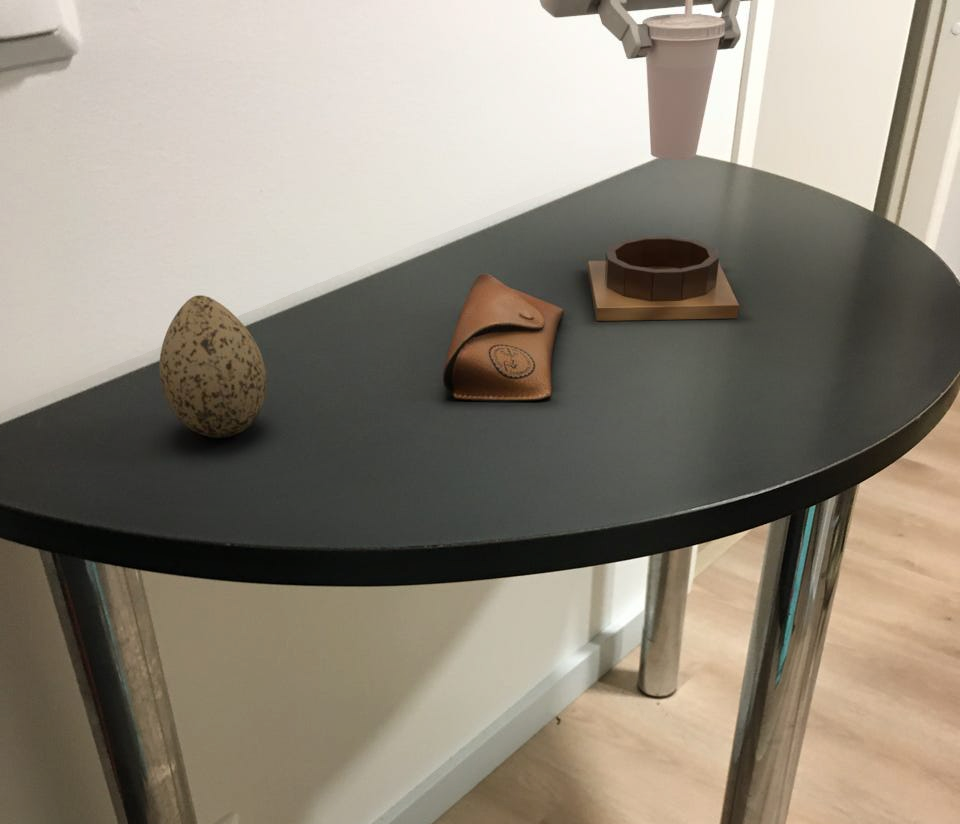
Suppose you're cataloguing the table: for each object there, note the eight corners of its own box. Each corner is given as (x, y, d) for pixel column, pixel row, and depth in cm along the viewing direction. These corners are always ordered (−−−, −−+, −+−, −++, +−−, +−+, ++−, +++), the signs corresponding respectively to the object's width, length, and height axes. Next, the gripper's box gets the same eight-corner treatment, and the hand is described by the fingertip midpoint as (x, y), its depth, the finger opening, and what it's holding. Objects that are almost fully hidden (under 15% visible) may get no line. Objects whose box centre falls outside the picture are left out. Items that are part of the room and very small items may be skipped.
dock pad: (715, 270, 104) (720, 230, 101) (737, 318, 94) (742, 275, 92) (587, 273, 104) (589, 233, 102) (596, 321, 94) (597, 278, 92)
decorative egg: (230, 465, 75) (204, 323, 69) (152, 443, 78) (120, 305, 72) (294, 423, 80) (275, 287, 74) (217, 404, 83) (193, 272, 77)
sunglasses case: (557, 396, 82) (511, 320, 78) (477, 438, 84) (429, 366, 81) (566, 307, 96) (526, 240, 93) (497, 346, 99) (457, 282, 95)
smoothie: (728, 151, 91) (749, -48, 83) (684, 168, 87) (701, -39, 79) (663, 140, 94) (676, -53, 86) (618, 155, 91) (628, -44, 82)
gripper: (524, -138, 81) (576, 31, 80) (765, -150, 87) (818, 9, 85) (503, -71, 87) (550, 88, 86) (729, -86, 93) (778, 63, 91)
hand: (685, 48), depth 86 cm, fingers closed on smoothie, 6 cm apart
